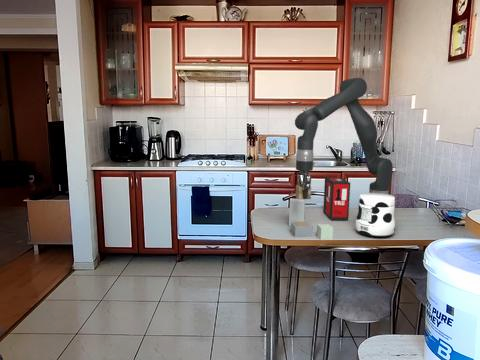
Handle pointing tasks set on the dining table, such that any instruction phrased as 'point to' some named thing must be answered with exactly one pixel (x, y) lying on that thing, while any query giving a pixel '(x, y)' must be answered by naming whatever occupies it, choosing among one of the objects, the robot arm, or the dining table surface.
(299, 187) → the tan wooden cube
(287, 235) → the dining table surface
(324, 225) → the sage green block
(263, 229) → the dining table surface
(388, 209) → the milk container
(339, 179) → the cleaning product box
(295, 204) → the supplement box
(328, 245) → the dining table surface
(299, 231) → the grey base block
